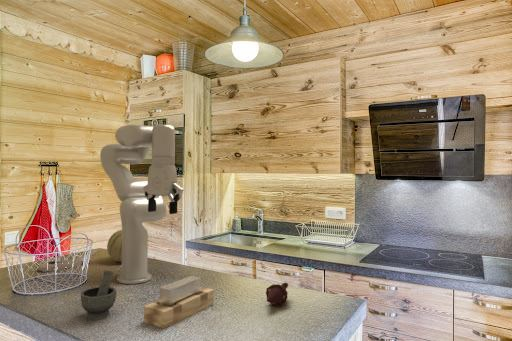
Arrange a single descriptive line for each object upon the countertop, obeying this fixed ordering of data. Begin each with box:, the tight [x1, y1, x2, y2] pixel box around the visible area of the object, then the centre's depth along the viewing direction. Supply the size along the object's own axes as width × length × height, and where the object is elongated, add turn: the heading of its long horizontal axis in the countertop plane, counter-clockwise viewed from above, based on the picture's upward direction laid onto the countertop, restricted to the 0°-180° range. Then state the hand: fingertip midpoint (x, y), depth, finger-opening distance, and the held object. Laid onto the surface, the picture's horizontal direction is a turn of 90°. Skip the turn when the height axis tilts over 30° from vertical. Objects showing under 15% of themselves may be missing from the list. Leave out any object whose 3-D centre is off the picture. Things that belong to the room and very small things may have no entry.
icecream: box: [265, 282, 289, 308], centre depth 119 cm, size 7×7×15 cm
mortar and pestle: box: [80, 270, 117, 321], centre depth 109 cm, size 11×9×12 cm
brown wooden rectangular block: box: [143, 286, 215, 329], centre depth 112 cm, size 8×22×4 cm, turn 150°
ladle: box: [33, 248, 99, 273], centre depth 160 cm, size 6×6×25 cm
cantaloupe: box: [106, 229, 122, 263], centre depth 170 cm, size 15×15×15 cm
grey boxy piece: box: [158, 275, 202, 307], centre depth 112 cm, size 4×14×8 cm, turn 150°
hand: (162, 212), depth 125 cm, fingers open, 9 cm apart
